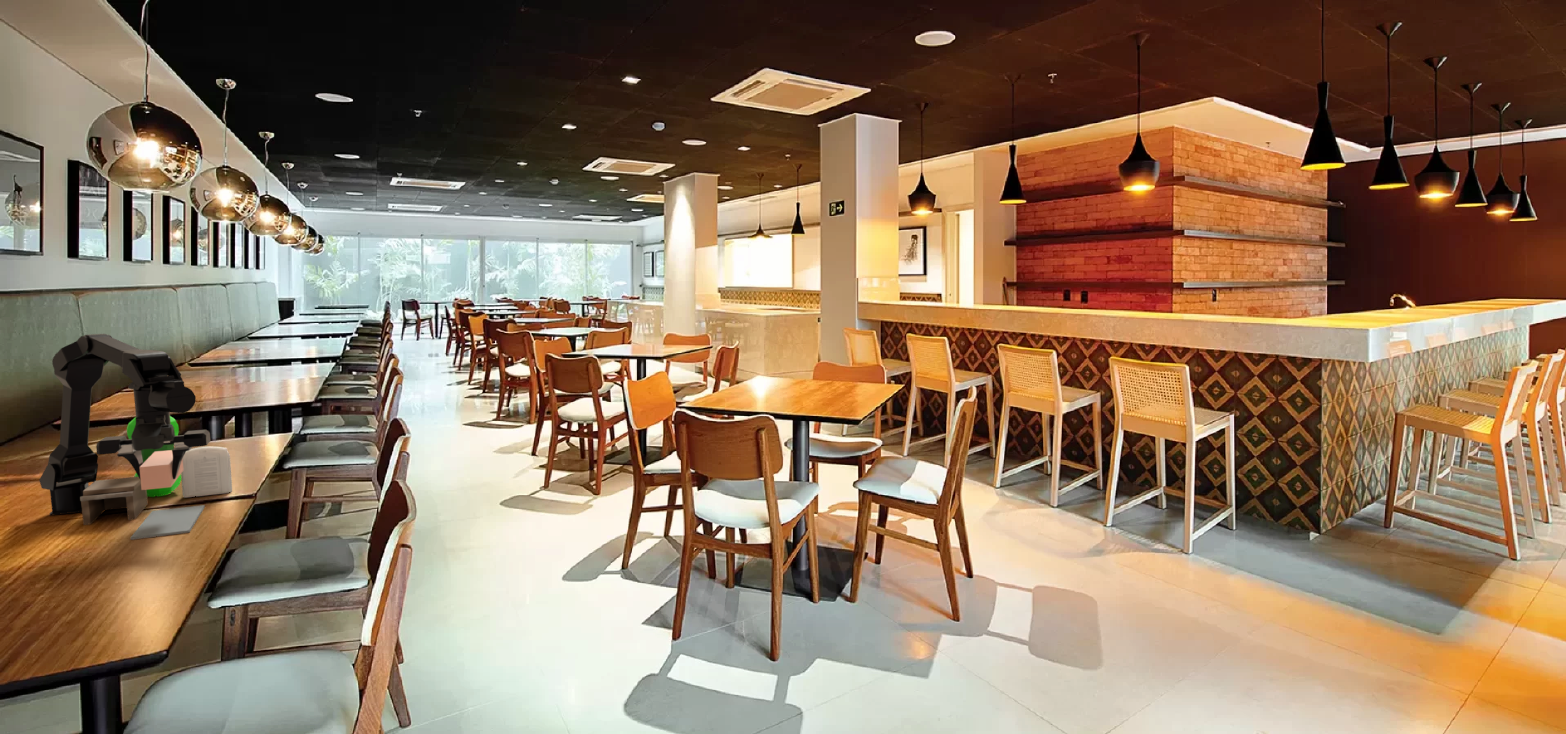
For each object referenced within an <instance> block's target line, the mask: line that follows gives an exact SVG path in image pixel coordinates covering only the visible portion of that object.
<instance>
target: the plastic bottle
mask: <svg viewBox="0 0 1566 734" xmlns="http://www.w3.org/2000/svg"><path fill="white" fill-rule="evenodd" d="M170 423H171V424H172V425H173V428H174V432H175V436H179V432H180V430H179V429H180V428H179V424H178V423H177V420H176V419H175V418H174V417H172V416H171V415H170ZM135 425H136V416H135V417H134V418H133V419H131V421H129V422H128V424H127V426H126V435H127V437H128V439H132V438H131V436H132V433H133V431H134V428H135ZM174 448H175V446H174V444H171V445H163V447H162V448H160V449H143V450H141V453H142V459H143V463H144V462H145V461H146V460H147V459H148V458H149V457H150V456H151V455H152V454H153V453H154V452H156V451H168V450H173V449H174ZM133 477H138V475H137V473H136V472H135V473H134V475H133ZM181 483H182V479H181V474H180V476H179V477H178V478H177V480H176V481H175V482H174V484H173V485H172V486H171V487H167V488H158V489H148V490H147V498H148V497H150V498H156V497H155V496H157V497H162V496H167V495H171V494H172V492H174V491H175V490H176V489H177V488H178V487H179V486H180V485H181Z"/></svg>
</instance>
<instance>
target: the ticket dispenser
mask: <svg viewBox="0 0 1566 734" xmlns="http://www.w3.org/2000/svg"><path fill="white" fill-rule="evenodd" d="M80 501H81V506H82V512H81V513H82V524H83V526H86V525H87V526H88V525H91V524H92V523H93V522H95V520H97V519H98V518H99V517H100V516H101V514H103V513H104V512H105V511H108V510H107V509H110V510H119V509H125V508H126V507H127V508H126V511H127V520H128V521H131V519H132V520H136V519H137V518H138V516H139V515H140V514H141V513H142V512H143V510H144V509H145V508H146V507H147V506H148V504H149V503H148V497H147V490H142V489H141V480H140V478H139V477H134V476H132V477H131V476H129V477H121V478H111V479H109V478H108V479H101V480H96V481H95V482H91V484H90V485H89V486H88V487H87V488H86V489H85V490H84V491H83V496H82V497H80ZM146 505H147V506H146ZM104 510H105V511H104ZM103 511H104V512H103Z"/></svg>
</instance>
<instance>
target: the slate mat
mask: <svg viewBox="0 0 1566 734" xmlns="http://www.w3.org/2000/svg"><path fill="white" fill-rule="evenodd" d="M205 507H206V506H205V504H202V505H193V506H186V507H185V506H184V507H183V506H182V507H176V508H175V507H174V508H167V509H166V508H165V509H157V510H152V511H151V512H150V513H149V514H148V515H147V516H146V517H145V519H144V520H143V521H142V523H141V524H140V525H139V527H138V528H137V529H136V530H135V531H134V532H133V534H132V535H131V536H130V540H138V539H147V538H155V537H156V536H157V537H162V536H163V537H164V536H172V535H177V534H179V535H180V534H188V533H191V531H192V529H193V528H194V526H195V524H196V523H197V521H198V519H199V518H200V516H201V514H202V513H203V511H204V509H205Z"/></svg>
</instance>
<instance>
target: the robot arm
mask: <svg viewBox="0 0 1566 734" xmlns="http://www.w3.org/2000/svg"><path fill="white" fill-rule="evenodd" d="M51 363H52V367H53V370H54V371H53V373H54V376H55V377H56V378H57V379H58V380H59V382H60V383H61V384H62V399H61V404H62V405H61V419H60V433H59V434H60V436H59V444H57V446H56V447H55V448H54V449H53V451H51V453H50V454H49V455H48V461H47V462H48V463H47V465H46V467H45V469H44V470H43V472H42V474H41V476H40V477H39V484H40V486H41V489H44V490H49V494H50V502H51V503H50V505H51V511H50V512H49V516H55V515H66V514H75V513H82V506H81V501H80V497H82V496H83V491H84V490H85V489H86V488H87V487H88V486H90V485H89V483H93V482H95V481H97V475H98V469H99V463H98V460H99V456H100V455H109V454H111V455H112V454H116V455H117V457H118V458H119V457H121V458H122V457H123V458H125V460H127V461H128V463H129V464H130V465H131V467H132V468H133V470H134V471H135V474H136V473H137V475H138V477H139V478H140V468H139V467H140V466H141V465H142V464H143V459H142V453H141V450H143V449H160V448H162V447H163V445H171V444H174V449H173V450H172V454H173V463H172V476H173V479H176V476H177V473H178V470H179V467H180V464H181V461H182V458H183V456H184V454H185V452H186V451H189V450H190V449H193V448H198V447H206V446H208V444H210V442H211V433H210V430H207V429H197V430H187V431H186V432H184V434H183V435H179V434H178V436H175V432H174V428H173V425H172V424H171V423H170V416H171V413H172V414H173V413H175V414H184V413H187V412H190V411H191V409H193V408H194V406H195V404H196V401H197V399H196V395H195V393H194V391H193V390H192V389H190V388H189V387H186V386H185V382H184V380H183V378H182V373H181V372H180V371H179V369H178V368H177V367H176V365H175V363H174V361H173V360H172V358H171V357H170V355H168V353H167V352H165V351H163V350H155V349H140V348H138V347H134V346H132V345H130V344H128V343H125V342H123V341H120V340H119V339H116V338H114V337H113V336H112V335H110V334H106V333H94V334H93V333H92V334H91V333H90V334H84V335H82V336H80V337H79V338H78V339H77V340H76V341H74V342H72V343H69V344H67V345H66V346H64V347H61V348H60V349H59V350H58V351H57V352H56V353H55V354H54V356H53V357H52V362H51ZM108 363H112V364H115V365H116V366H118V367H121V373H122V374H123V375H125V376H126V377H128V379H130V380H131V381H132V382H131V383H130V384H129V385H128V387H127V388H128V389H131V390H133V399H134V410H135V417H136V425H135V428H134V431H133V433H132V436H131V438H132V439H129V438H128V439H127V437H126V435H118V436H117V435H116V436H115V435H114V436H105V437H104V438H102V439H100V440H99V441H98V442H96V445H95V446H96V447H95V448H96V453H95V452H94V451H93V450H92V448H91V447H90V446H89V436H90V435H89V432H90V418H91V406H92V391H93V387H94V386H95V385H96V383H98V381H99V380H100V379H101V378H102V377H103V373H104V367H105V366H106V365H107V364H108ZM98 455H99V456H98ZM140 480H141V478H140Z"/></svg>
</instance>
